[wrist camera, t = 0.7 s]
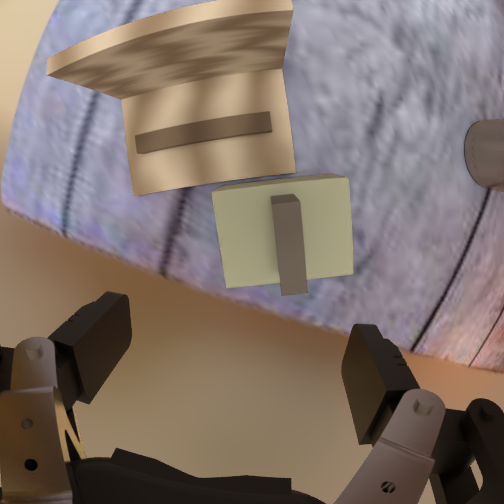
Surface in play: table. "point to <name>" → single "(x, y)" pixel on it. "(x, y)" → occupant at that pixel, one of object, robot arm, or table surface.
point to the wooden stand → (194, 91)
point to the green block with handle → (284, 231)
